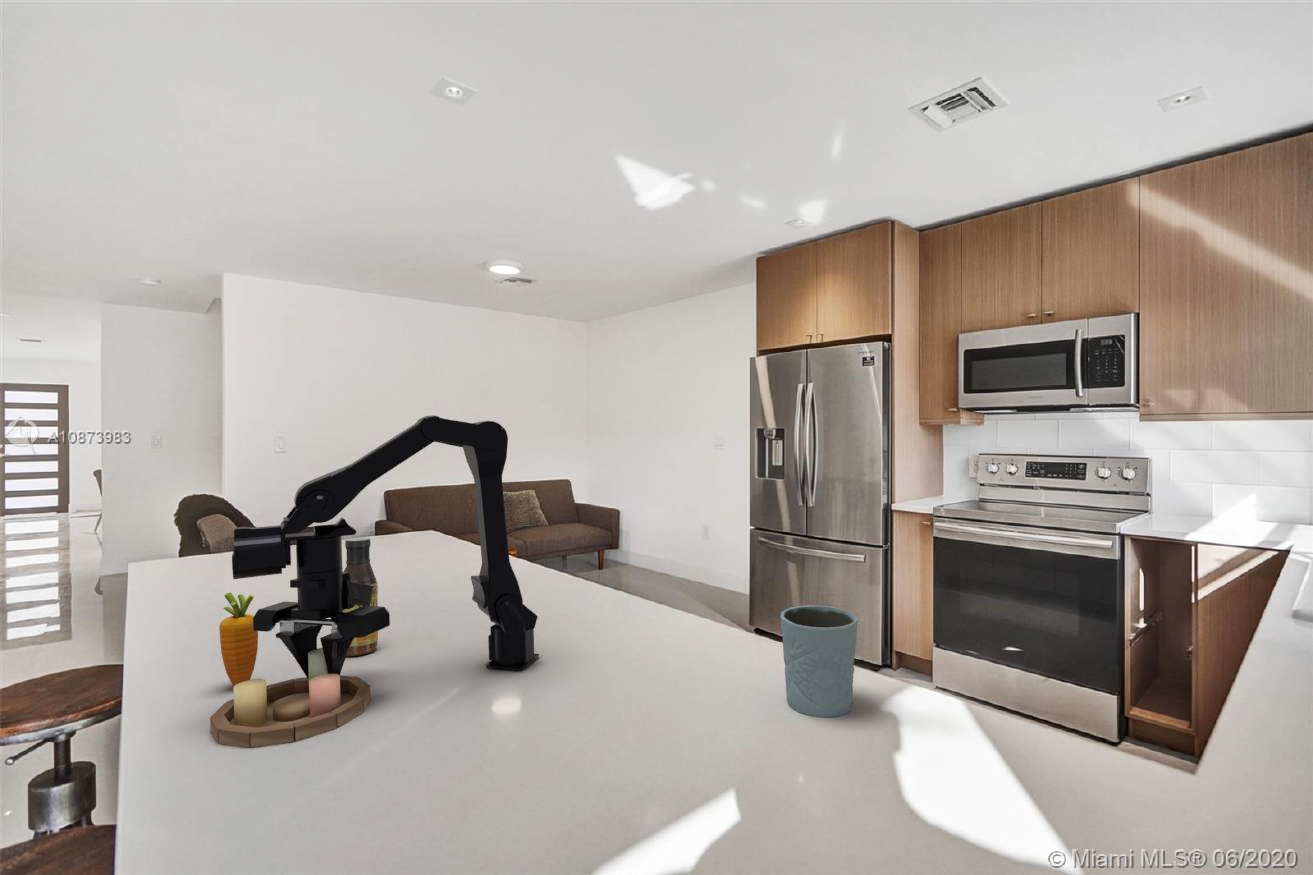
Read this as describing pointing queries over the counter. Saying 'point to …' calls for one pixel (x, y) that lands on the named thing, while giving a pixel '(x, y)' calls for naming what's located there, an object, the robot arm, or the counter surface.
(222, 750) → the counter surface
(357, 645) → the sauce bottle
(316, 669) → the bead sage
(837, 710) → the teal embossed cup
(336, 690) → the bead coral
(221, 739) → the groove tray
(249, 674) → the carrot
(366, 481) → the robot arm
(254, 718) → the bead mustard
